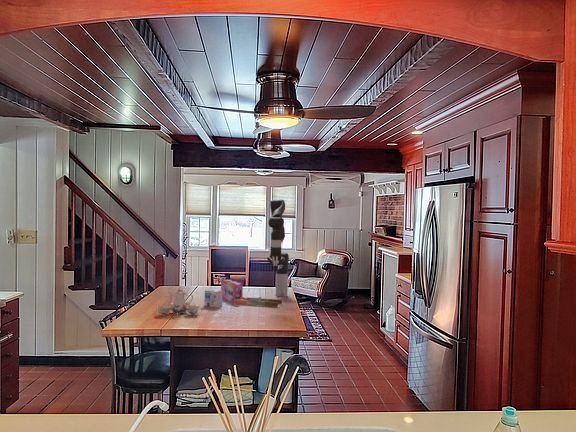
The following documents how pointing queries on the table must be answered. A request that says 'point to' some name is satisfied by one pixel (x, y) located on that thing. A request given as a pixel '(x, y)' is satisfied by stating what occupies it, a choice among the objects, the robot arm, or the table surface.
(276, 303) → the track
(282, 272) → the robot arm
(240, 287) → the gum box
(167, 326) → the table surface
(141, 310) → the table surface
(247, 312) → the table surface
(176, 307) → the chinaware
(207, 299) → the light bulb box
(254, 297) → the slate block
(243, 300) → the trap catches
